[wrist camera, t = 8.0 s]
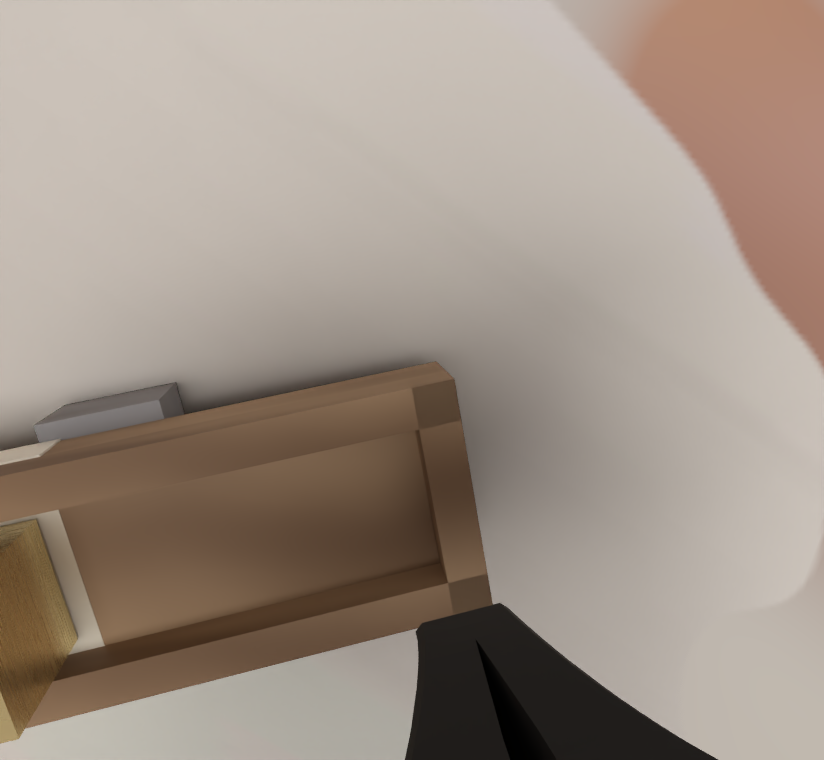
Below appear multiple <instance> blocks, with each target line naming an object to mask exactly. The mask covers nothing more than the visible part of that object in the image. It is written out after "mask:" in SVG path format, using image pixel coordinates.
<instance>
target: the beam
mask: <svg viewBox="0 0 824 760" xmlns="http://www.w3.org/2000/svg"><path fill="white" fill-rule="evenodd" d="M34 429H35V432H36V435H37V438H38V441H39V443H36V444H32V445H27V446H22V447H17V448H13V449H8V450H3V451H0V527H3V526H7V525H12V524H16V523H21V522H25V521H30V520H34V519H36V520H37V523H38V526H39V529H40V532H41V535H42V538H43V540H44V543H45V546H46V549H47V552H48V555H49V558H50V560H51V563H52V566H53V569H54V572H55V575H56V578H57V580H58V583H59V586H60V589H61V592H62V595H63V598H64V600H65V603H66V606H67V609H68V612H69V615H70V618H71V620H72V623H73V626H74V629H75V632H76V635H77V638H78V640H77V641H76V643H75V645H74V646H73V648H72V650H71V652H70V653H69V655H68V657H67V658H66V660H65V662H64V663H63V665H62V667H61V668H60V670H59V672H58V673H57V675H56V677H55V679H54V680H53V682H52V684H51V685H50V687H49V689H48V690H47V692H46V694H45V695H44V697H43V699H42V700H41V702H40V704H39V706H38V707H37V709H36V711H35V712H34V714H33V716H32V717H31V719H30V721H29V722H28V724H27V726H26V728H29V727H33V726H37V725H41V724H44V723H48V722H52V721H56V720H60V719H64V718H68V717H72V716H76V715H80V714H84V713H87V712H91V711H95V710H99V709H103V708H107V707H111V706H115V705H119V704H123V703H127V702H130V701H134V700H138V699H142V698H146V697H150V696H154V695H158V694H162V693H166V692H169V691H173V690H177V689H181V688H185V687H189V686H193V685H197V684H201V683H205V682H209V681H212V680H216V679H220V678H224V677H228V676H232V675H236V674H240V673H244V672H248V671H252V670H255V669H259V668H263V667H267V666H271V665H275V664H279V663H283V662H287V661H291V660H294V659H298V658H302V657H306V656H310V655H314V654H318V653H322V652H326V651H330V650H334V649H337V648H341V647H345V646H349V645H353V644H357V643H361V642H365V641H369V640H373V639H377V638H380V637H384V636H388V635H392V634H396V633H400V632H404V631H408V630H412V629H416V628H419V626H420V625H421V624H422V623H424V622H427V621H431V620H435V619H439V618H443V617H447V616H451V615H455V614H459V613H463V612H467V611H471V610H474V609H478V608H482V607H486V606H490V605H493V604H492V598H491V592H490V586H489V581H488V575H487V569H486V563H485V557H484V551H483V545H482V539H481V533H480V528H479V522H478V516H477V510H476V504H475V498H474V492H473V486H472V481H471V475H470V469H469V463H468V457H467V451H466V445H465V439H464V433H463V428H462V422H461V416H460V410H459V404H458V398H457V392H456V386H455V380H454V378H453V377H452V376H451V375H450V374H449V373H448V372H447V371H446V370H444V369H443V368H442V367H441V366H440V365H439V364H438V363H437V362H431V363H426V364H422V365H417V366H412V367H407V368H403V369H398V370H393V371H389V372H384V373H379V374H374V375H370V376H365V377H360V378H355V379H351V380H346V381H341V382H336V383H332V384H327V385H322V386H317V387H313V388H308V389H303V390H298V391H294V392H289V393H284V394H279V395H275V396H270V397H265V398H260V399H256V400H251V401H246V402H241V403H237V404H232V405H227V406H222V407H218V408H213V409H208V410H204V411H199V412H194V413H189V414H184V411H183V407H182V403H181V400H180V396H179V393H178V389H177V385H176V383H171V384H166V385H161V386H156V387H151V388H147V389H142V390H137V391H132V392H127V393H122V394H117V395H112V396H108V397H103V398H98V399H93V400H88V401H83V402H78V403H74V404H69V405H64V406H63V407H61V408H60V409H58V410H57V411H55V412H54V413H52V414H51V415H49V416H47V417H46V418H44V419H43V420H41V421H40V422H38V423H37V424H35V425H34Z"/></svg>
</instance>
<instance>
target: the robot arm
mask: <svg viewBox="0 0 824 760" xmlns="http://www.w3.org/2000/svg"><path fill="white" fill-rule="evenodd" d="M416 635H417V640H418V652H419V662H418V679H417V691H416V698H415V705H414V713H413V720H412V727H411V733H410V738H409V743H408V748H407V752H406V757H405V760H718V759H716V758H714V757H712V756H711V755H709V754H707V753H705V752H704V751H702V750H700V749H698V748H696V747H695V746H693V745H691V744H689V743H688V742H686V741H684V740H683V739H681V738H679V737H678V736H676V735H675V734H673V733H671V732H670V731H668V730H667V729H665V728H663V727H662V726H660V725H659V724H657V723H656V722H654V721H652V720H651V719H650V718H648V717H647V716H645V715H644V714H642V713H641V712H639V711H638V710H636V709H635V708H633V707H632V706H630V705H629V704H627V703H626V702H624V701H623V700H621V699H620V698H619V697H617V696H616V695H614V694H613V693H612V692H610V691H609V690H607V689H606V688H605V687H603V686H602V685H601V684H599V683H598V682H597V681H595V680H594V679H593V678H591V677H590V676H589V675H587V674H586V673H585V672H583V671H582V670H581V669H579V668H578V667H577V666H576V665H574V664H573V663H572V662H570V661H569V660H568V659H567V658H565V657H564V656H563V655H562V654H560V653H559V652H558V651H557V650H555V649H554V648H553V647H552V646H551V645H549V644H548V643H547V642H546V641H545V640H543V639H542V638H541V637H540V636H539V635H538V634H536V633H535V632H534V631H533V630H532V629H531V628H529V627H528V626H527V625H526V624H525V623H524V622H523V621H522V620H520V619H519V618H518V617H517V616H516V615H515V614H514V613H513V612H512V611H511V610H510V609H508V608H507V607H506V606H504V605H502V604H501V603H498V604H494V605H490V606H486V607H482V608H478V609H474V610H471V611H467V612H463V613H459V614H455V615H451V616H447V617H443V618H439V619H435V620H431V621H427V622H424V623H422V624H421V625H420V626H419V628H418V629H417V631H416Z"/></svg>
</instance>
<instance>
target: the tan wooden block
mask: <svg viewBox="0 0 824 760" xmlns="http://www.w3.org/2000/svg"><path fill="white" fill-rule="evenodd" d="M77 640H78V638H77V635H76V632H75V629H74V626H73V623H72V620H71V618H70V615H69V612H68V609H67V606H66V603H65V600H64V598H63V595H62V592H61V589H60V586H59V583H58V580H57V578H56V575H55V572H54V569H53V566H52V563H51V560H50V558H49V555H48V552H47V549H46V546H45V543H44V540H43V538H42V535H41V532H40V529H39V526H38V523H37V520H36V519H34V520H30V521H25V522H21V523H16V524H12V525H7V526H3V527H0V743H4V742H8V741H12V740H16V739H19V738H20V736H21V734H22V733H23V731H24V729H25V728H26V726H27V724H28V722H29V721H30V719H31V717H32V716H33V714H34V712H35V711H36V709H37V707H38V706H39V704H40V702H41V700H42V699H43V697H44V695H45V694H46V692H47V690H48V689H49V687H50V685H51V684H52V682H53V680H54V679H55V677H56V675H57V673H58V672H59V670H60V668H61V667H62V665H63V663H64V662H65V660H66V658H67V657H68V655H69V653H70V652H71V650H72V648H73V646H74V645H75V643H76V641H77Z"/></svg>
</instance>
